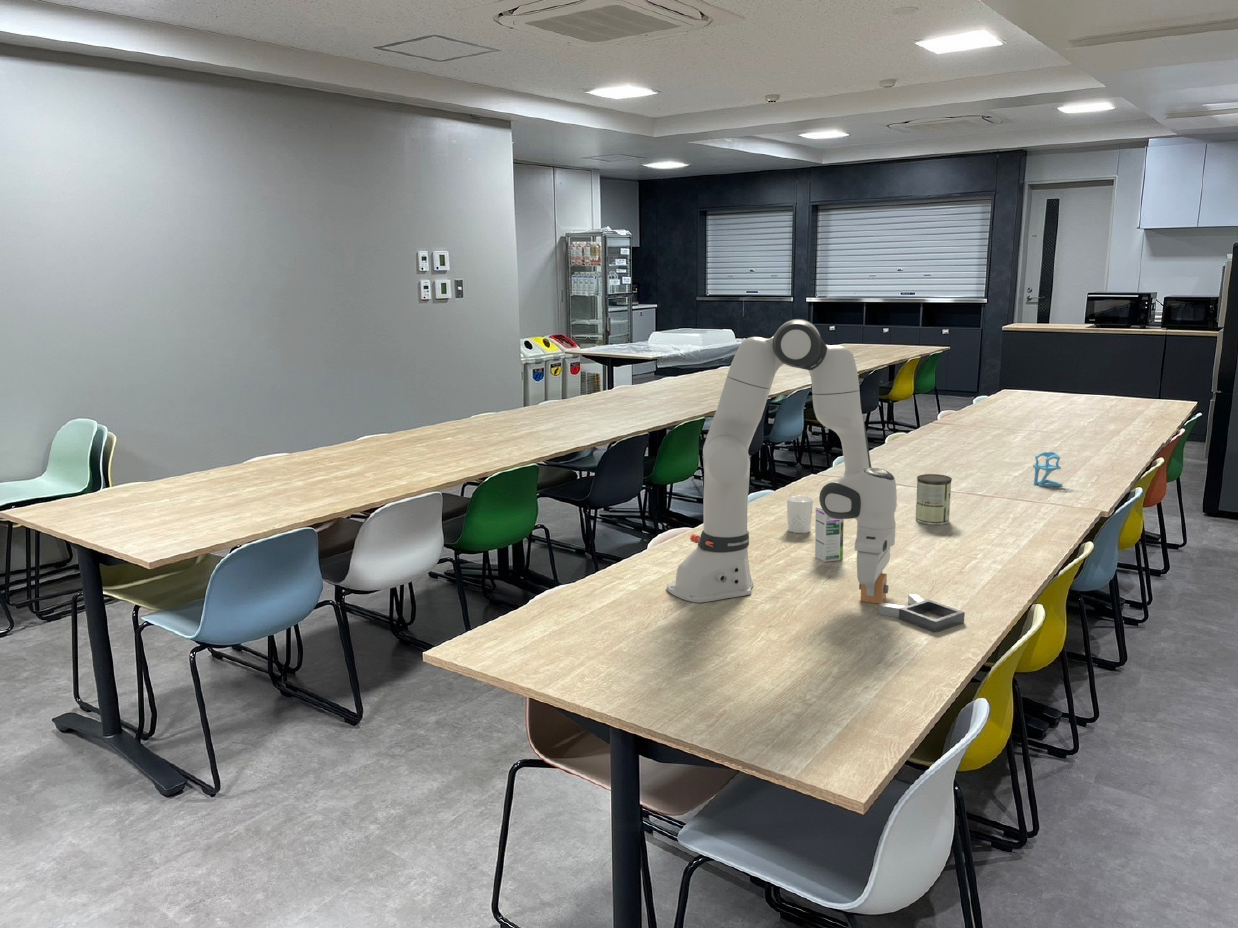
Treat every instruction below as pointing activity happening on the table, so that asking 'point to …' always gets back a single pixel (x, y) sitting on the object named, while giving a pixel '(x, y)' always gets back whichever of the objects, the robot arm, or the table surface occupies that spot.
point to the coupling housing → (921, 606)
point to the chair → (1046, 469)
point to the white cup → (799, 513)
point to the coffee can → (933, 499)
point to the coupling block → (876, 590)
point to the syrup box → (828, 537)
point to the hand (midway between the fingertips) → (873, 590)
